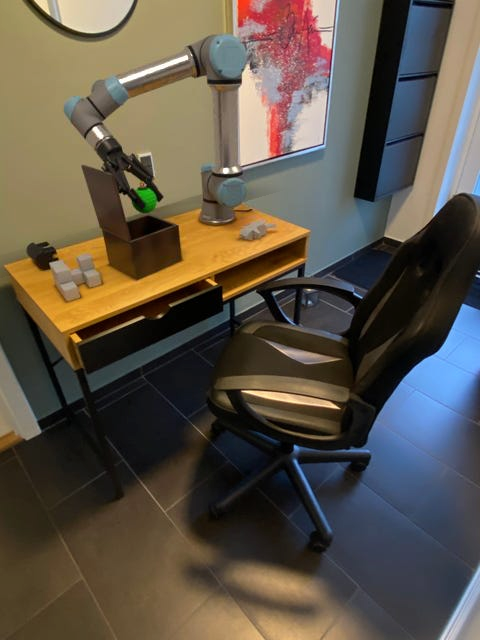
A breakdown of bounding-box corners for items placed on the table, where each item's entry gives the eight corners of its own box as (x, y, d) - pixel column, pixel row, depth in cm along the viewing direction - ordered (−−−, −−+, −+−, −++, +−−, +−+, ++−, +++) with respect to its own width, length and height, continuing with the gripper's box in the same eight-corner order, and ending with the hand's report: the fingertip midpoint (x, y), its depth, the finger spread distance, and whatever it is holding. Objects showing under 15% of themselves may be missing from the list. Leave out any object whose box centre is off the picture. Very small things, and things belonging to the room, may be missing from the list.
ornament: (151, 207, 135) (147, 176, 129) (162, 213, 129) (159, 182, 124) (129, 211, 131) (124, 181, 125) (139, 219, 125) (134, 187, 120)
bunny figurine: (233, 227, 153) (261, 213, 160) (235, 239, 156) (261, 225, 163) (251, 234, 147) (278, 219, 154) (252, 246, 150) (278, 231, 158)
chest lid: (83, 164, 116) (80, 165, 116) (114, 174, 107) (111, 175, 107) (102, 227, 129) (100, 228, 128) (131, 240, 120) (128, 241, 119)
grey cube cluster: (67, 301, 117) (60, 278, 112) (55, 285, 125) (48, 262, 120) (106, 289, 122) (101, 266, 118) (93, 274, 130) (88, 252, 126)
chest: (153, 247, 148) (149, 213, 140) (182, 260, 139) (178, 224, 131) (109, 264, 136) (101, 229, 129) (136, 280, 127) (130, 242, 120)
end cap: (29, 262, 138) (23, 244, 134) (50, 256, 142) (45, 238, 138) (39, 272, 132) (33, 253, 128) (61, 266, 136) (55, 247, 132)
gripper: (122, 146, 134) (166, 201, 137) (75, 159, 119) (125, 220, 122) (132, 130, 129) (177, 187, 132) (84, 142, 113) (136, 206, 117)
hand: (152, 203), depth 127 cm, fingers closed on ornament, 8 cm apart
